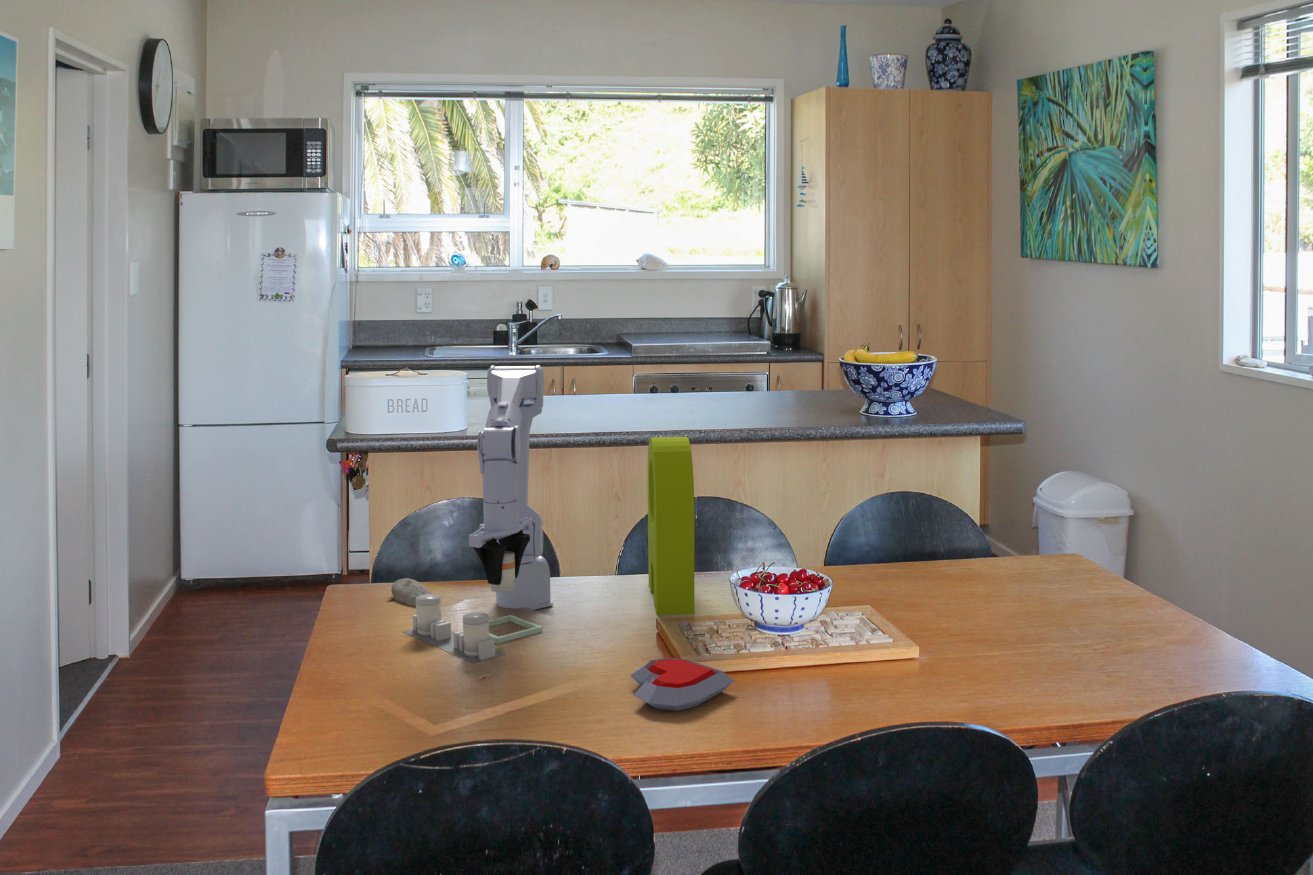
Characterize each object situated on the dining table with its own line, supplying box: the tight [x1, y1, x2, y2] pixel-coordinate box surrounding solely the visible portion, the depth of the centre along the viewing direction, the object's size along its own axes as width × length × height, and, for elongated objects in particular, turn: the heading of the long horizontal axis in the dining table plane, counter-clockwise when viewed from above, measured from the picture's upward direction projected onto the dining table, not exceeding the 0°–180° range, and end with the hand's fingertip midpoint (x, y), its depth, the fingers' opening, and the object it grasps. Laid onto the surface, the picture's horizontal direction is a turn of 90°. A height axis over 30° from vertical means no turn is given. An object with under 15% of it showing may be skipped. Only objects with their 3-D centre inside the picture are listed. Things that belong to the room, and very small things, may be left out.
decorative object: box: [647, 436, 696, 616], centre depth 214 cm, size 20×7×30 cm, turn 5°
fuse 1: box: [415, 593, 442, 636], centre depth 194 cm, size 4×4×6 cm
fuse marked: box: [490, 551, 515, 593], centre depth 193 cm, size 4×4×6 cm
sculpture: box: [630, 656, 735, 712], centre depth 169 cm, size 17×4×15 cm
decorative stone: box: [391, 577, 432, 607], centre depth 215 cm, size 6×16×3 cm, turn 32°
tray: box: [489, 614, 543, 645], centre depth 195 cm, size 9×9×2 cm
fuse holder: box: [402, 614, 506, 664], centre depth 189 cm, size 6×21×4 cm, turn 42°
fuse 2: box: [462, 612, 490, 657], centre depth 184 cm, size 4×4×6 cm
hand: (503, 580), depth 194 cm, fingers closed on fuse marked, 4 cm apart
